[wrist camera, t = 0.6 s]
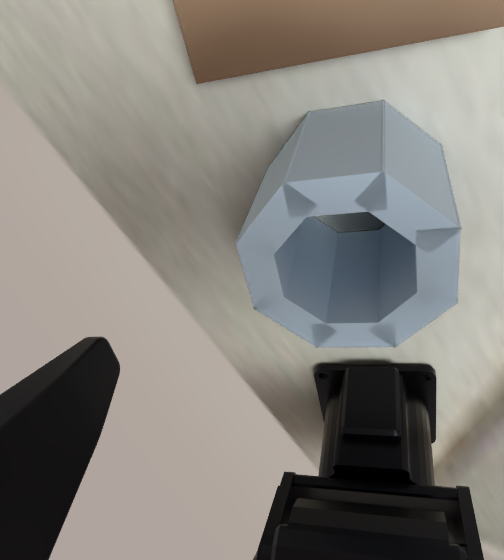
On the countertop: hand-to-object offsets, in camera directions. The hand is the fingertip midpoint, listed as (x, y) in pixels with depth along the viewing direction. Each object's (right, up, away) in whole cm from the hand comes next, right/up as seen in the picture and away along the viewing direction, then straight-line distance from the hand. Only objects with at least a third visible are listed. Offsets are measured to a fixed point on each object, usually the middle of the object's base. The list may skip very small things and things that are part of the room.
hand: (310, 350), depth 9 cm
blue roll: (+3, +5, +11) cm, 12 cm away
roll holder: (+1, +14, +4) cm, 15 cm away
